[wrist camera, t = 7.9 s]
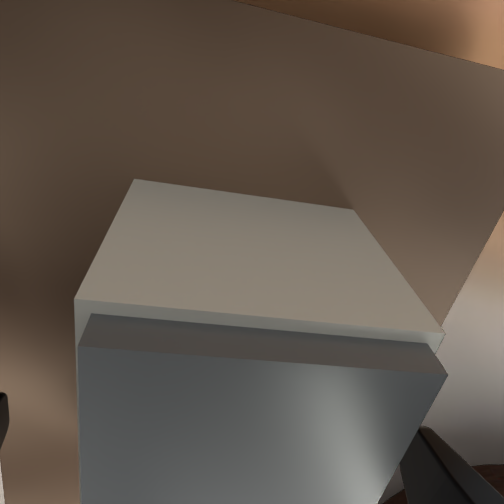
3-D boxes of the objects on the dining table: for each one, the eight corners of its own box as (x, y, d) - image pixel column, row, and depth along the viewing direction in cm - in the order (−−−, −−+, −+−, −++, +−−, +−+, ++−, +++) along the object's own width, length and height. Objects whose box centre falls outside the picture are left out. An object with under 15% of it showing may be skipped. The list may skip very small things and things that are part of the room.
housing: (134, 178, 9) (58, 330, 5) (353, 209, 10) (468, 364, 5) (121, 447, 13) (76, 661, 9) (274, 454, 14) (302, 652, 10)
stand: (320, 447, 19) (337, 516, 16) (38, 428, 17) (5, 504, 14) (487, 71, 11) (571, 87, 9) (17, -48, 9) (-61, -76, 7)
